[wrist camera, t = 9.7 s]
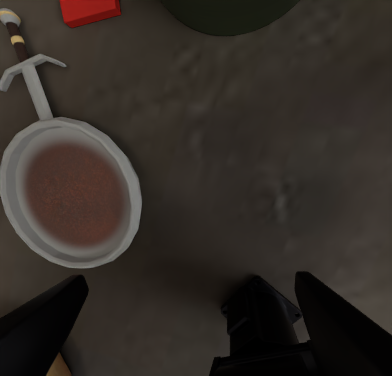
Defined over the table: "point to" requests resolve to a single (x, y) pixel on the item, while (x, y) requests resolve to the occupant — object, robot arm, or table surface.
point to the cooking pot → (228, 14)
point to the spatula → (88, 11)
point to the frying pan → (65, 179)
